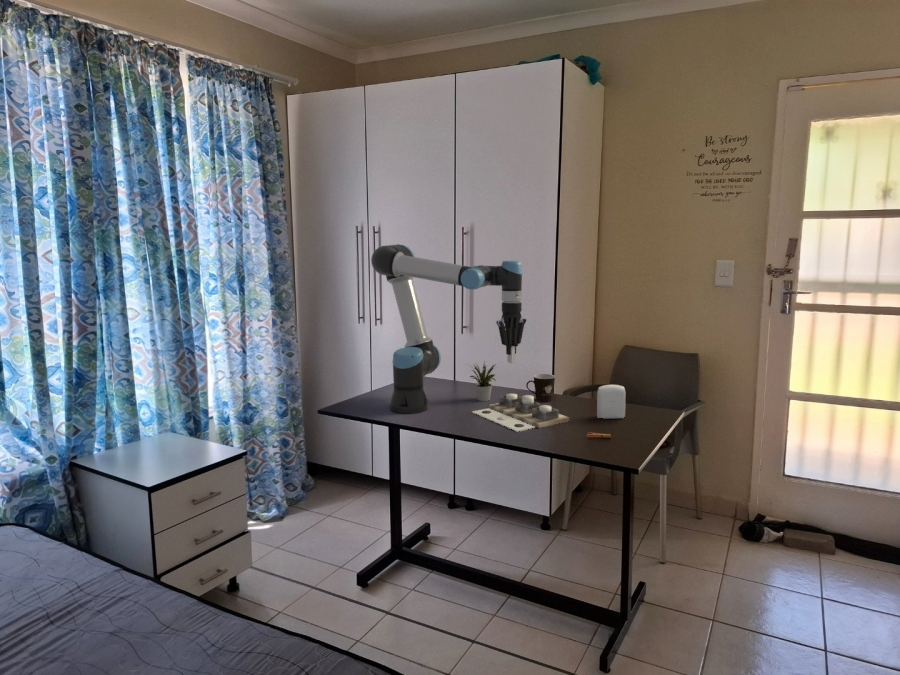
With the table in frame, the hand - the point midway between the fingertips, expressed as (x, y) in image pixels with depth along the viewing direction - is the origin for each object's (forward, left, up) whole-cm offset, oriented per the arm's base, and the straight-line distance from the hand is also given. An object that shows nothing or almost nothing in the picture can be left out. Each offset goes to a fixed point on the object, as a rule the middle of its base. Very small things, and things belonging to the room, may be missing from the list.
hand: (511, 362), depth 244 cm
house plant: (-17, -3, -19) cm, 25 cm away
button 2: (+20, 0, -16) cm, 26 cm away
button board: (+10, 0, -18) cm, 21 cm away
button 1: (0, 0, -16) cm, 16 cm away
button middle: (+10, 0, -15) cm, 18 cm away
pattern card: (+10, -12, -18) cm, 24 cm away
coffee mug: (-3, +17, -19) cm, 25 cm away
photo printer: (+30, +23, -19) cm, 42 cm away
